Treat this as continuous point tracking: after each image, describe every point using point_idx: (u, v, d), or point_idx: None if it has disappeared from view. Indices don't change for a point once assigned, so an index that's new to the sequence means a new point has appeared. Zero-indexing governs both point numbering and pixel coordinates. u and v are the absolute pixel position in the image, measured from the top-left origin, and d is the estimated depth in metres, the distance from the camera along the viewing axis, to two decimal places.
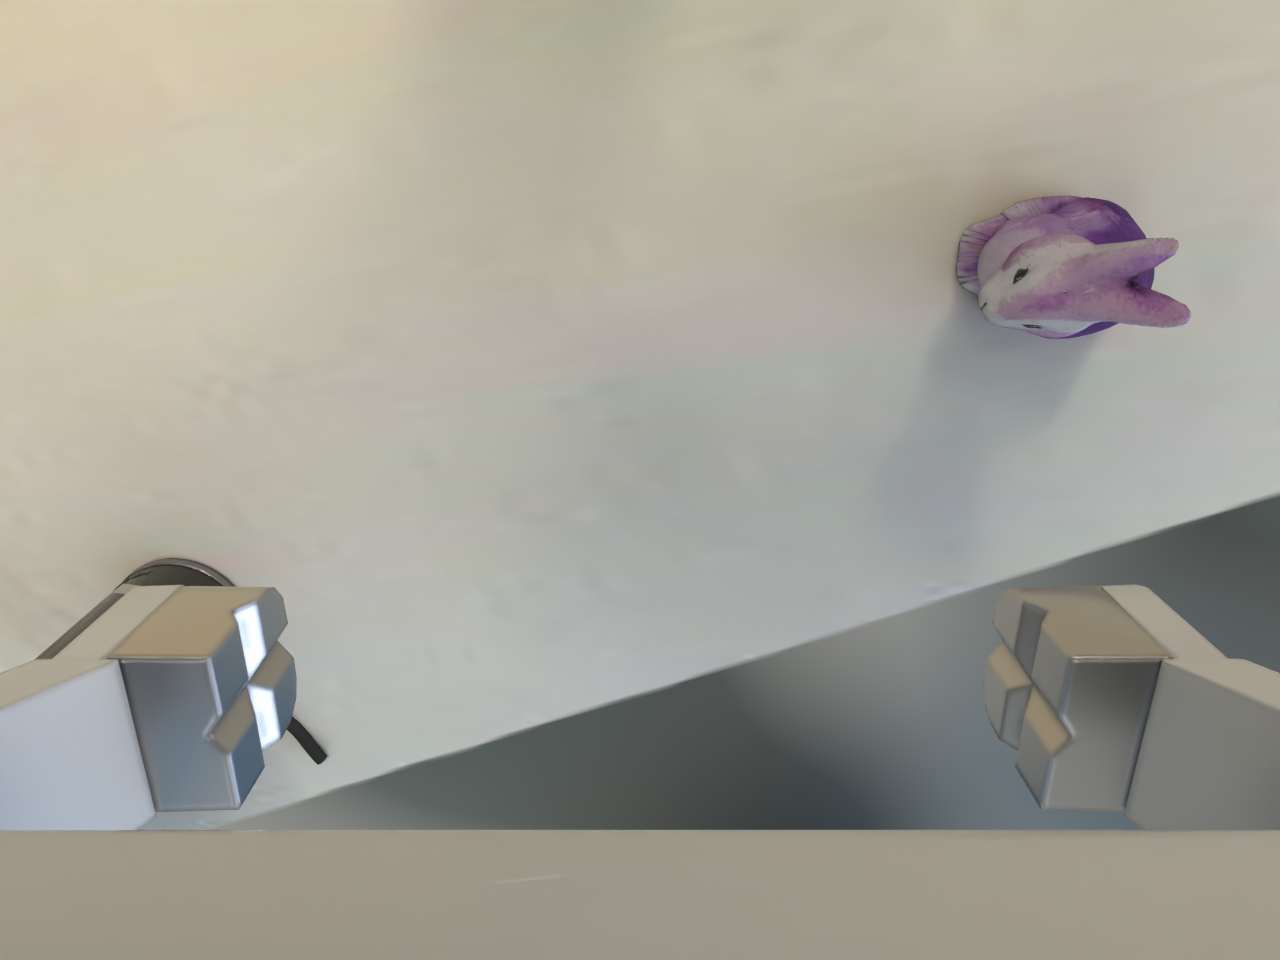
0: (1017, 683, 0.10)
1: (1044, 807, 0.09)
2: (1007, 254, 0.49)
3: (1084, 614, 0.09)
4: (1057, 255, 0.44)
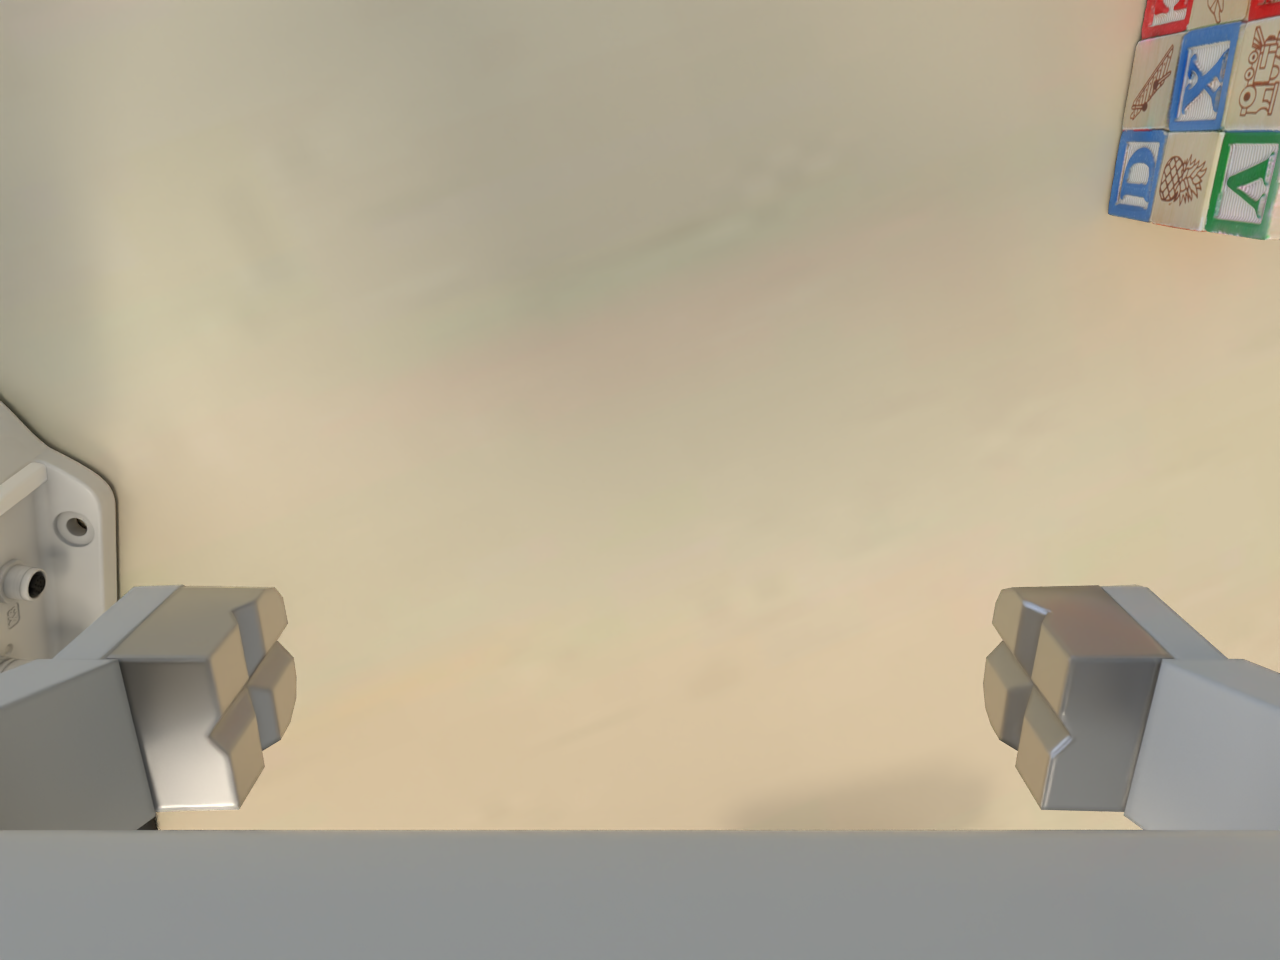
0: (1017, 683, 0.10)
1: (1044, 806, 0.09)
2: None
3: (1084, 614, 0.09)
4: None
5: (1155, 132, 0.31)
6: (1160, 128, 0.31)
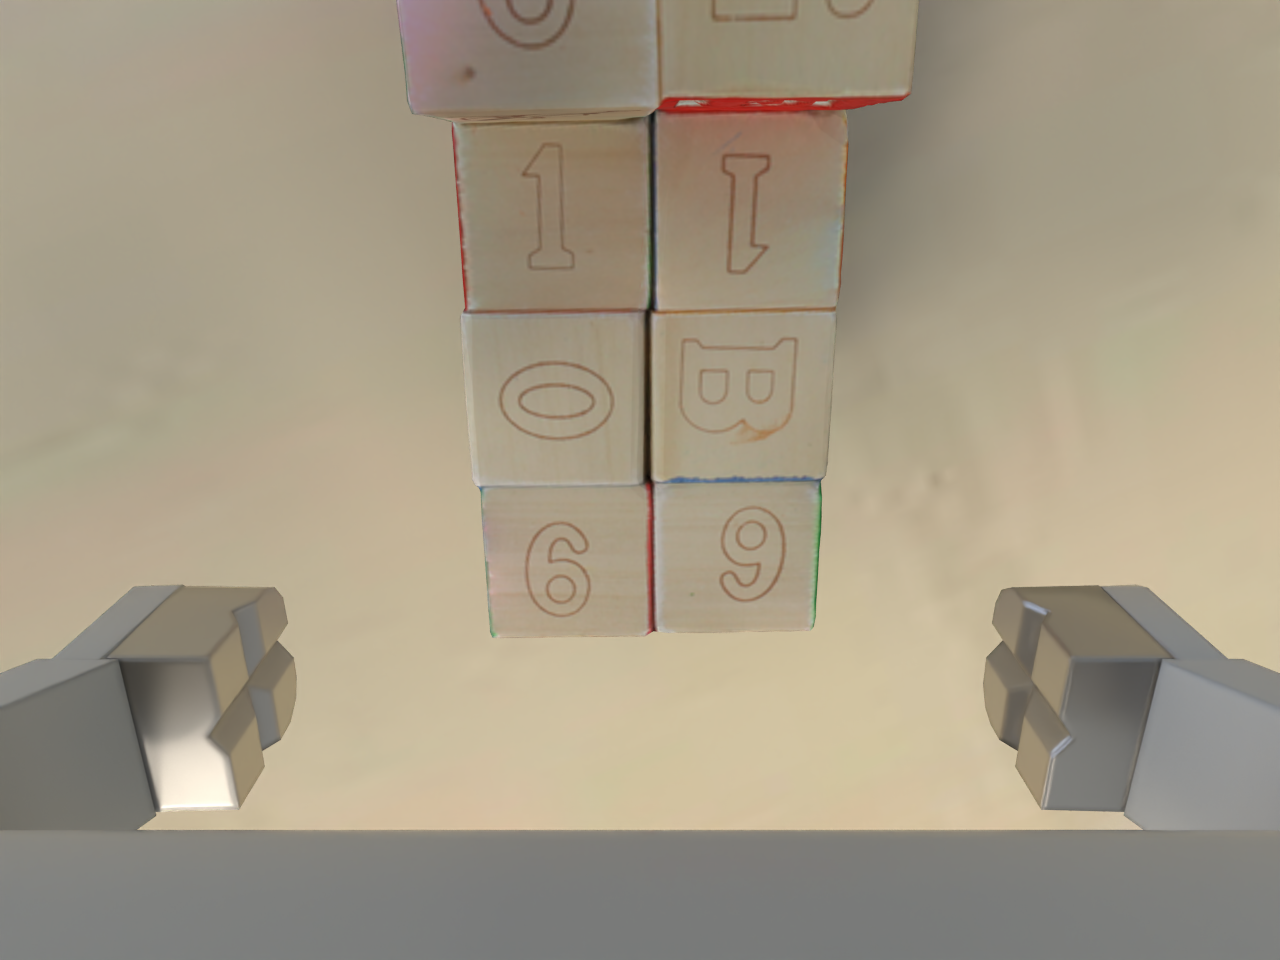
0: (1017, 683, 0.10)
1: (1043, 806, 0.09)
2: None
3: (1084, 614, 0.09)
4: None
5: None
6: None
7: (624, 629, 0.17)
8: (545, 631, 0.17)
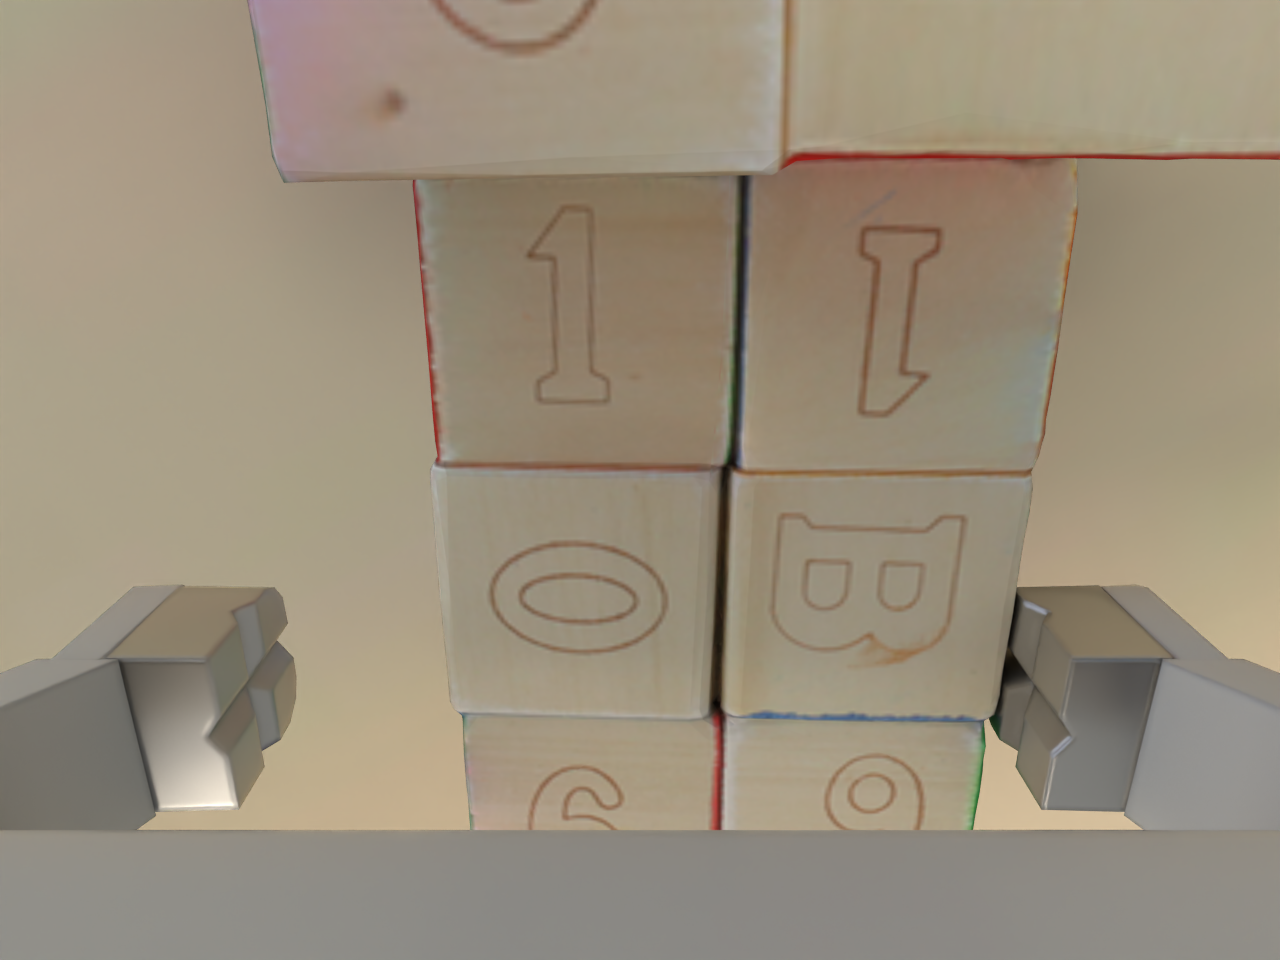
0: (1017, 683, 0.10)
1: (1045, 807, 0.09)
2: None
3: (1084, 614, 0.09)
4: None
5: None
6: None
7: None
8: None
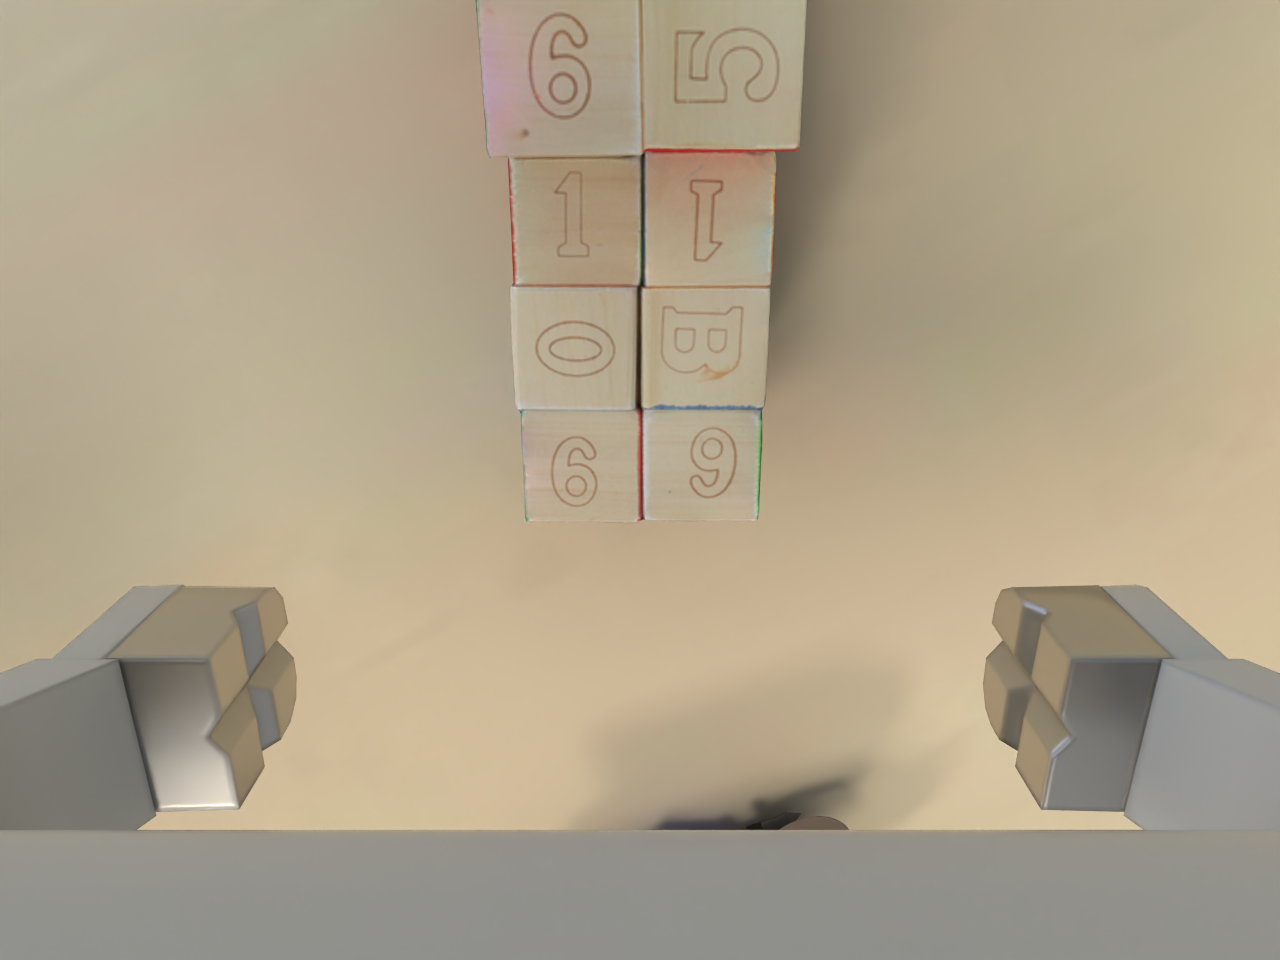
0: (1018, 683, 0.10)
1: (1044, 806, 0.09)
2: None
3: (1084, 614, 0.09)
4: None
5: None
6: None
7: (621, 516, 0.23)
8: (564, 517, 0.23)
